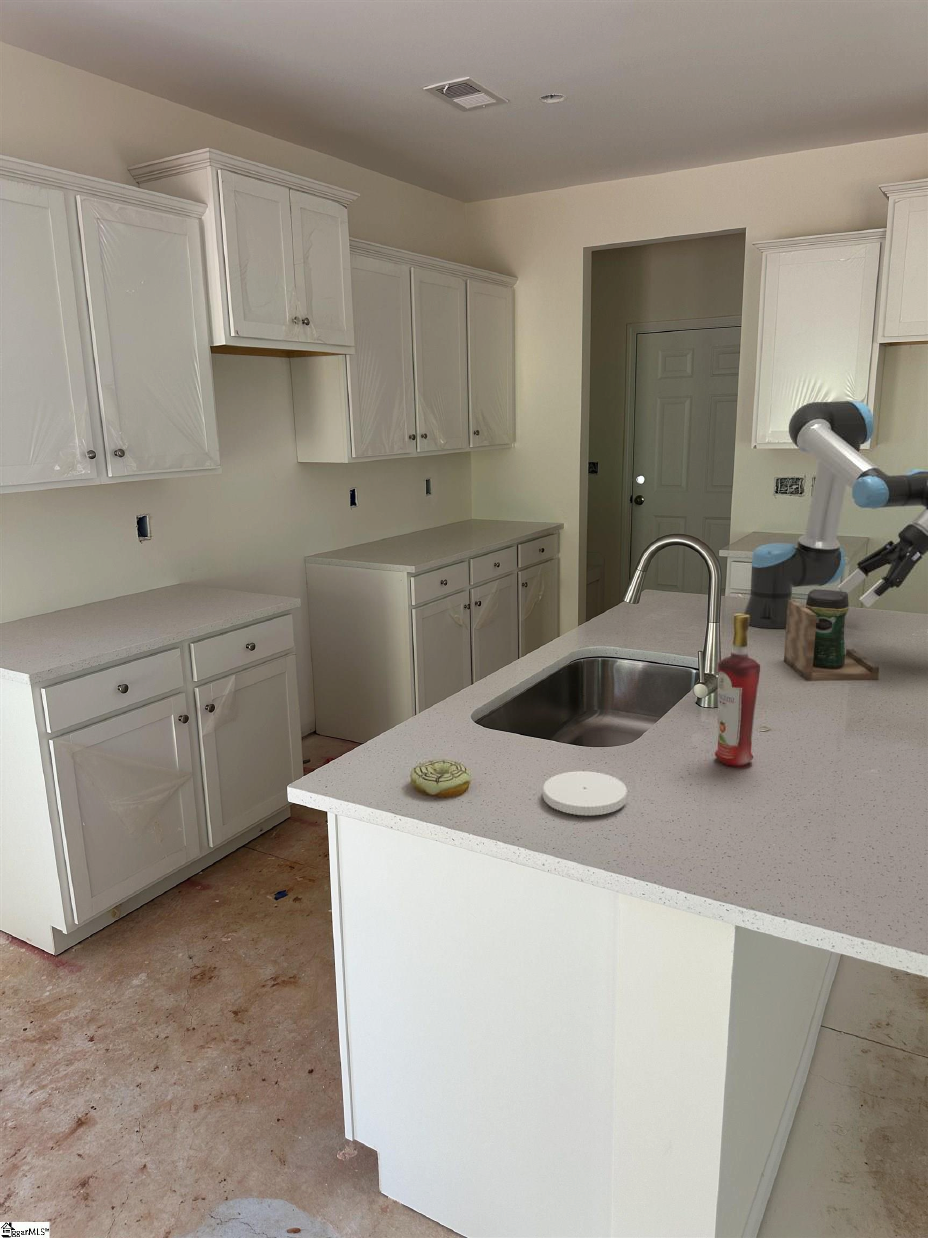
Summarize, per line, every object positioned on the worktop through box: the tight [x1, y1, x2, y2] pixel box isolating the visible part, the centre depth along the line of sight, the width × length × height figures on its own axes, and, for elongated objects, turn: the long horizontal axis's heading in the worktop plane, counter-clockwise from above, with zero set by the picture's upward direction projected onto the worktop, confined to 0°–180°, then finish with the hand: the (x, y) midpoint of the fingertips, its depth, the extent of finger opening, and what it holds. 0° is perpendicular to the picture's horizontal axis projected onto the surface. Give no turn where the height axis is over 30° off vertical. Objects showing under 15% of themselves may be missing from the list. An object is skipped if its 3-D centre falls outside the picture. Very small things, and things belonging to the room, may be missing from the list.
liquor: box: [714, 613, 761, 768], centre depth 159 cm, size 7×7×28 cm
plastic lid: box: [542, 770, 628, 816], centre depth 148 cm, size 14×14×2 cm
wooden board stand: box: [783, 599, 880, 681], centre depth 214 cm, size 16×17×16 cm
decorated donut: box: [409, 758, 472, 798], centre depth 154 cm, size 10×11×4 cm
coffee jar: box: [805, 589, 850, 668], centre depth 213 cm, size 10×8×19 cm
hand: (852, 597), depth 210 cm, fingers open, 13 cm apart
